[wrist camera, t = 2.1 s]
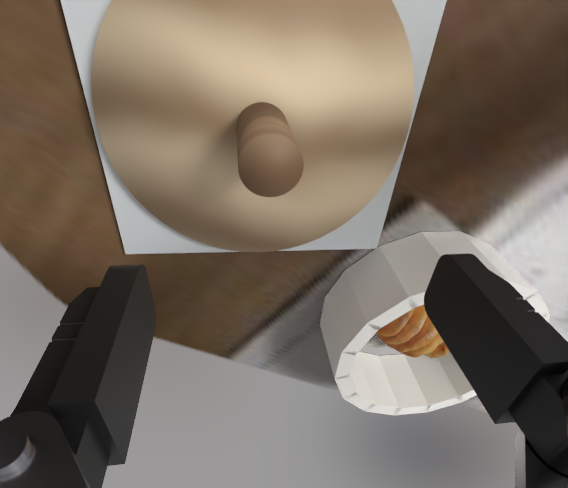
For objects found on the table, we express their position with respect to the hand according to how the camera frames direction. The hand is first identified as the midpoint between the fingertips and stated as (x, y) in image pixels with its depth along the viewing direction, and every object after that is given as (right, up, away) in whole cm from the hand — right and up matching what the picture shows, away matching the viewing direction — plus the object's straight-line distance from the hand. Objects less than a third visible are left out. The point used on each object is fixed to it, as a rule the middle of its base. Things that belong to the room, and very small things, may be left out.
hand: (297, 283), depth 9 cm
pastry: (+11, -5, +22) cm, 25 cm away
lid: (-2, +8, +10) cm, 13 cm away
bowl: (+11, -5, +22) cm, 25 cm away
